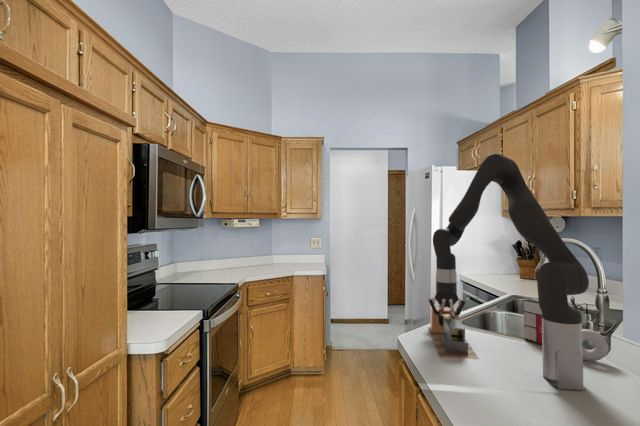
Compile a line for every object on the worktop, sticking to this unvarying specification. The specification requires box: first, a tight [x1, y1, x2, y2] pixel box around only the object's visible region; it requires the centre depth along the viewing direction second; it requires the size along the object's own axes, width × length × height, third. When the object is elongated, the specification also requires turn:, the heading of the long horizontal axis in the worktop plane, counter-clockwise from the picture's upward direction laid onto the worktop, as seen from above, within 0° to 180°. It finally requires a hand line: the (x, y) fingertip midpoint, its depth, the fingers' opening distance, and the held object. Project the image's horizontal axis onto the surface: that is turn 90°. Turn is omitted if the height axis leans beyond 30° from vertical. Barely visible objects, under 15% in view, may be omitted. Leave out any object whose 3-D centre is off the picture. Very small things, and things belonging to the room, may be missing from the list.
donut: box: [582, 328, 609, 362], centre depth 116 cm, size 10×4×10 cm, turn 56°
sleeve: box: [441, 319, 469, 354], centre depth 125 cm, size 12×7×8 cm, turn 170°
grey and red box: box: [523, 298, 542, 345], centre depth 134 cm, size 11×4×15 cm, turn 25°
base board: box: [427, 326, 480, 360], centre depth 132 cm, size 33×12×1 cm, turn 170°
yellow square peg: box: [442, 312, 458, 335], centre depth 135 cm, size 20×3×3 cm, turn 170°
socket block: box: [429, 306, 460, 333], centre depth 144 cm, size 5×10×9 cm, turn 80°
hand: (446, 325), depth 139 cm, fingers closed on yellow square peg, 3 cm apart
